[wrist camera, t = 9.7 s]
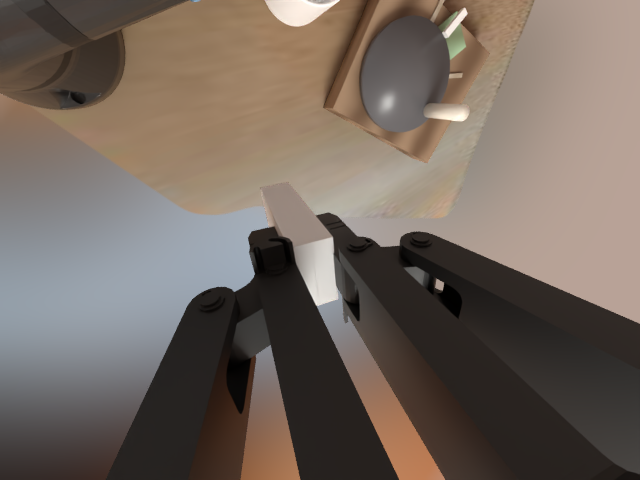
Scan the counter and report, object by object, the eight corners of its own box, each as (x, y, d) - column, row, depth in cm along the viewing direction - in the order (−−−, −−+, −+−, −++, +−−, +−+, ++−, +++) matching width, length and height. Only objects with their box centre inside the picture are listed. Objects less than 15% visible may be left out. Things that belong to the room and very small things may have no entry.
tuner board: (323, 107, 41) (333, 108, 37) (382, -34, 35) (401, -49, 32) (413, 158, 50) (428, 163, 47) (471, 53, 45) (493, 49, 41)
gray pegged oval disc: (396, 150, 43) (429, 160, 37) (339, 82, 36) (367, 80, 29) (476, 56, 41) (526, 49, 34) (431, -39, 33) (485, -72, 26)
